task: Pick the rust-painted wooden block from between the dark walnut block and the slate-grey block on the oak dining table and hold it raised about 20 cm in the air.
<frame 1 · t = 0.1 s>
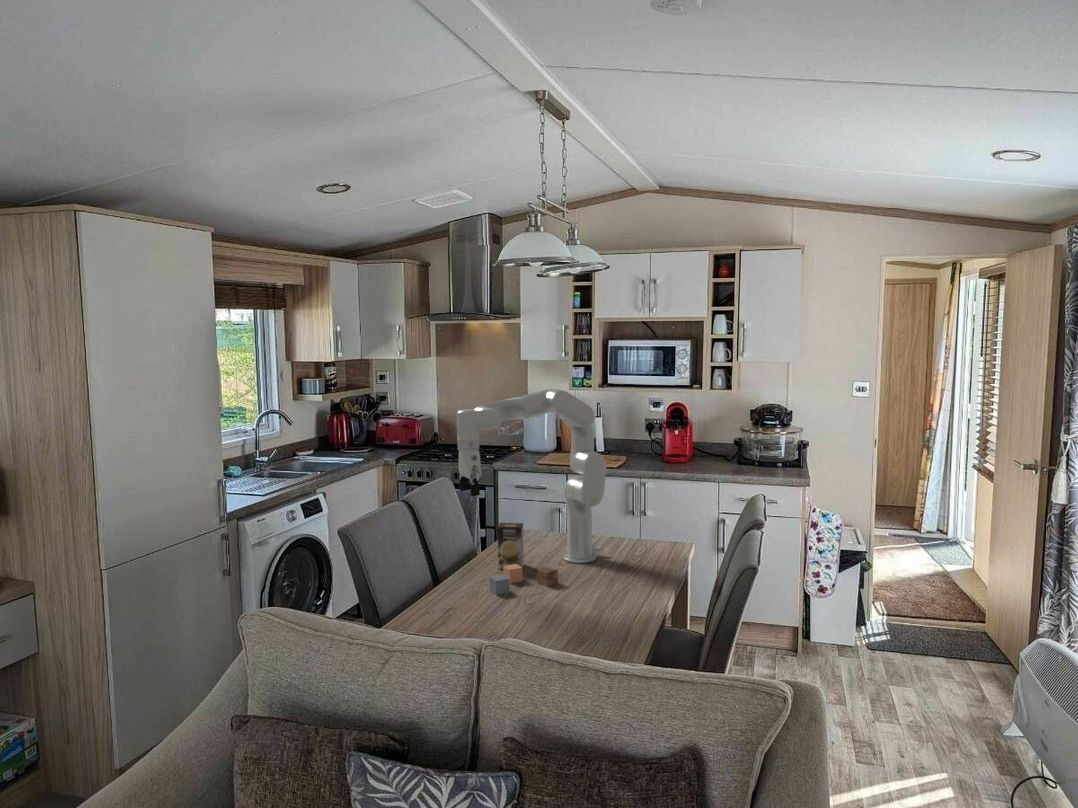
hand: (469, 493, 265), 31 cm above the table, tool pointing down, fingers open, 9 cm apart
coffee box: (511, 567, 281), on the table
walnut block: (547, 583, 262), on the table
slate block: (499, 591, 254), on the table
rust block: (513, 580, 265), on the table
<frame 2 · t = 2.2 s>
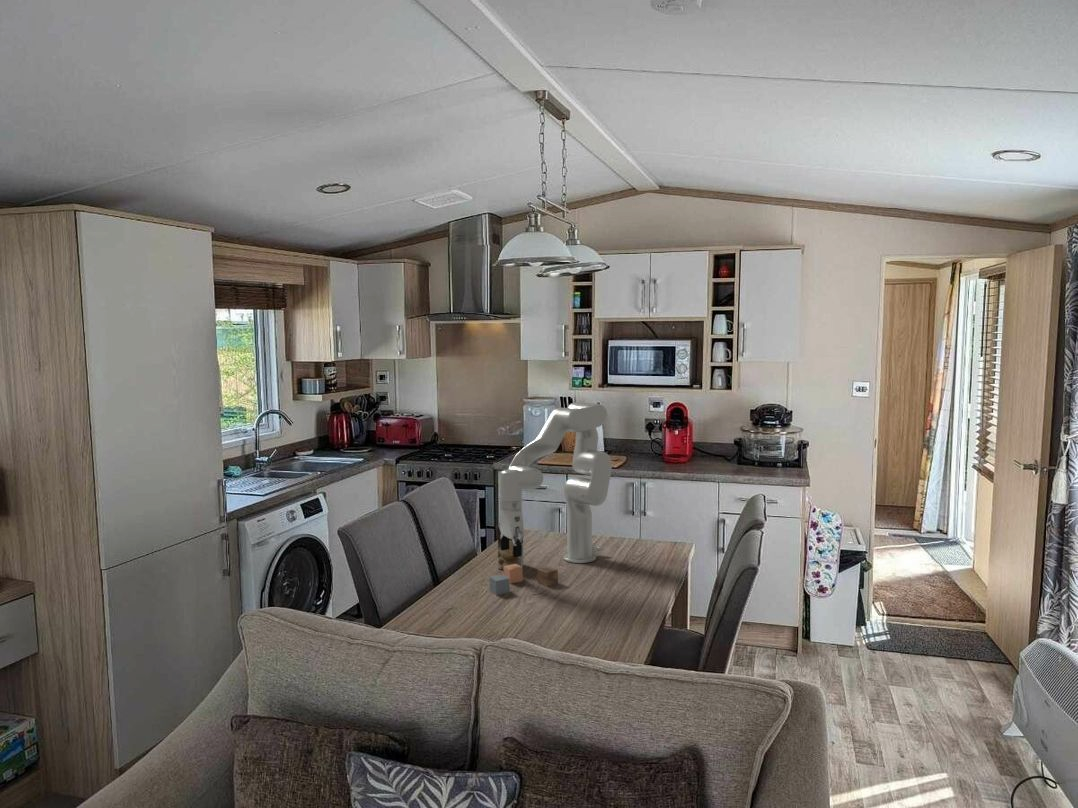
hand: (511, 553, 264), 10 cm above the table, tool pointing down, fingers open, 9 cm apart
nothing on the table moved.
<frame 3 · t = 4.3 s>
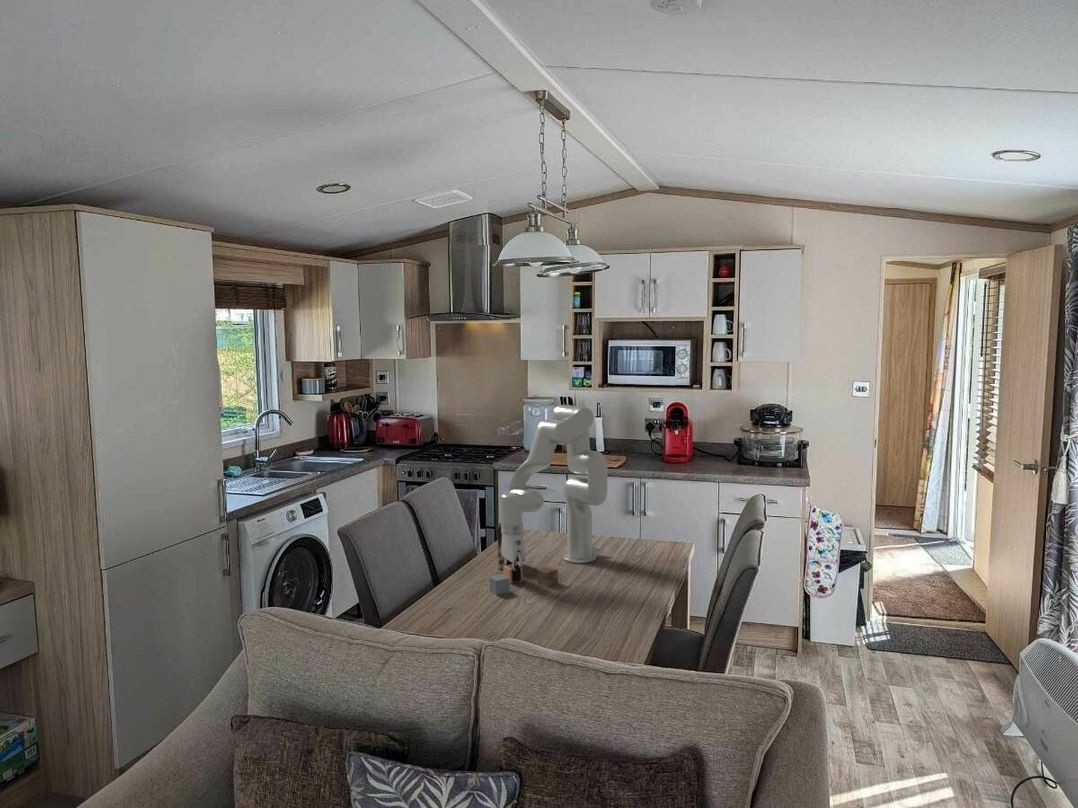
hand: (512, 578, 265), 1 cm above the table, tool pointing down, fingers closed on rust block, 5 cm apart
rust block: (513, 580, 265), on the table, touching gripper
everything else where it was.
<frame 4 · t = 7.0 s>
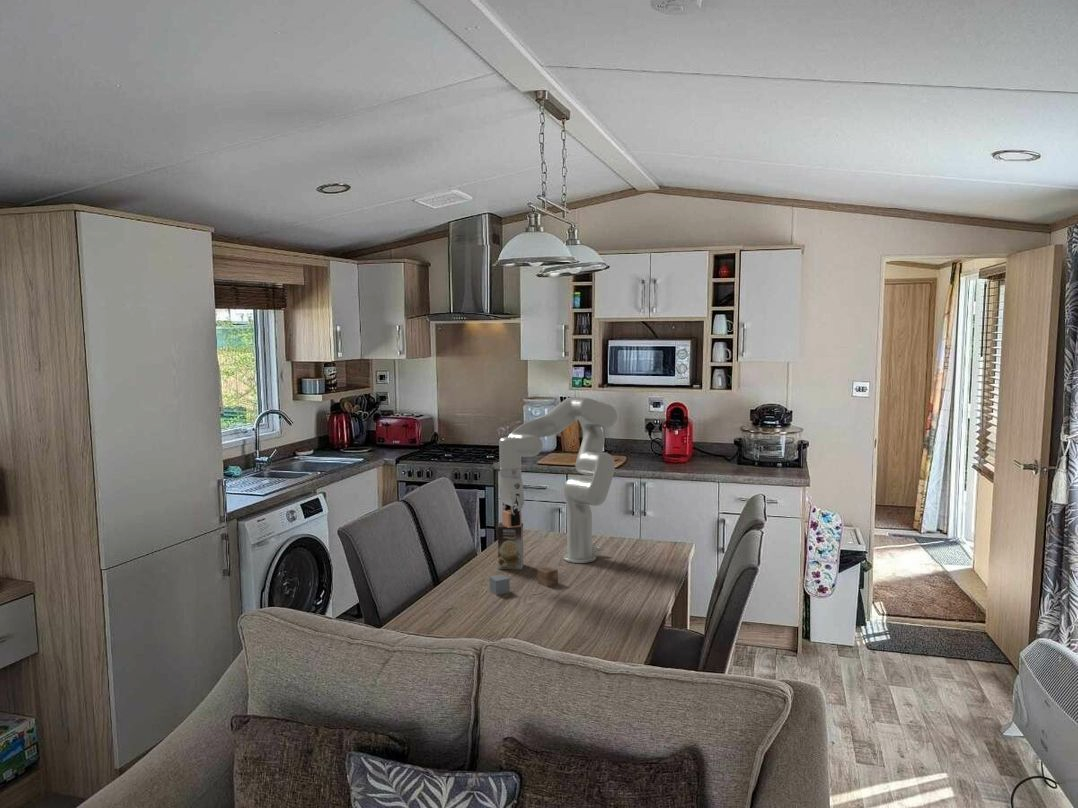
hand: (512, 523, 263), 21 cm above the table, tool pointing down, fingers closed on rust block, 5 cm apart
rust block: (512, 525, 263), point 20 cm above the table, touching gripper
everything else where it was.
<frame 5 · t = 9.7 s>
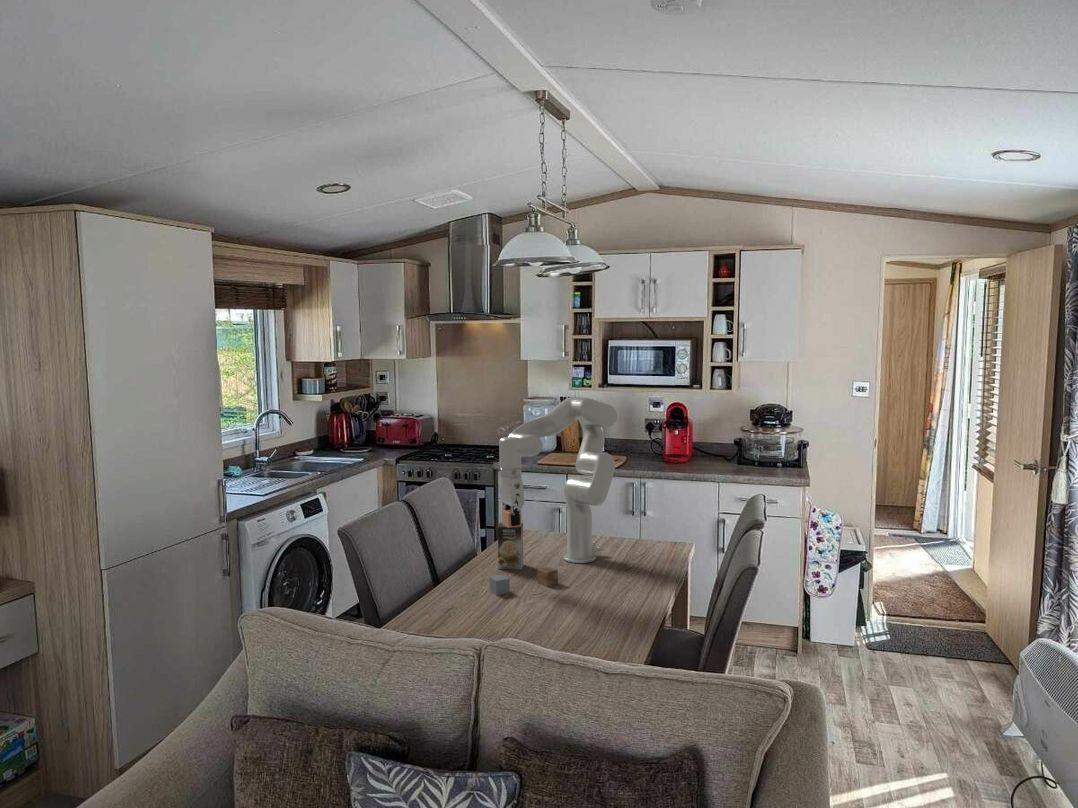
hand: (511, 523, 263), 21 cm above the table, tool pointing down, fingers closed on rust block, 5 cm apart
rust block: (512, 525, 263), point 20 cm above the table, touching gripper
everything else where it was.
at the end: rust block point 19.8 cm above the table; walnut block moved 0.1 cm from its start; slate block moved 0.1 cm from its start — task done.
